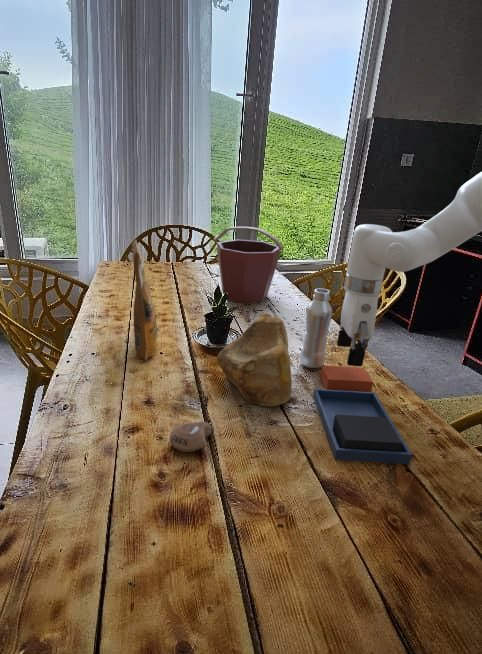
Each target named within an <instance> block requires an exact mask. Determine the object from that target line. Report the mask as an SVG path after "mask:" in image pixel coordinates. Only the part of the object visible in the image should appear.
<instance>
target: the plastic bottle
mask: <svg viewBox="0 0 482 654" xmlns="http://www.w3.org/2000/svg"><path fill="white" fill-rule="evenodd" d="M330 294H331V291H330V290H329V289H327V288H316V289H314V293H313V296H312V298H313V299H312V300H311V301H310V303H308V305H307V306H306V309H305V333H304V338H303V341H302V346H301V349H300V351H299V361H300V362H301V364H302V365H303V366H304V367H307V368H310V369H319V368H322V365H324V364H325V361H326V359H327V358H326V357H327V350H326V346H327V337H328V332H329V327H330V324H331V321H332V317H333V308H332V306H331V304H330V302H329V300H330V299H331V298H330Z"/></svg>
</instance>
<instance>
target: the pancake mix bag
mask: <svg viewBox="0 0 482 654" xmlns="http://www.w3.org/2000/svg"><path fill="white" fill-rule="evenodd" d="M131 247H132V252H133V253H132V254H133V255H132V256H133V258H132V259H133V260H132V261H133V271H134V277H135V289H134V290H135V291H134V301H133V335H134V348H135V352H136V353H135V354H136V355H135V356H136V357H137V358H138V359H141V360H144V361H147V360H148V359H149V358H152V357H154V355H155V353H156V346H157V338H158V323H157V317H156V311H155V307H154V302H153V297H152V292H151V288H150V284H149V280H148V277H147V276H148V275H147V272H146V269H145V268H146V267H145V264H144V260H143V258H142V254H141V251H140V248H139V247H138V244H137V239H135V240H134V241H133V243H131Z"/></svg>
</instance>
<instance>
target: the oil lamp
mask: <svg viewBox="0 0 482 654" xmlns="http://www.w3.org/2000/svg"><path fill="white" fill-rule="evenodd" d="M214 432H215V429H214V427H213V426H212V425H211V424H210V423H209V422H207V421H204V420H202V421H196V422H186V423H180V424H178V425H175V426H173V427H172V430H171V432H170V434H169V443H170V445H171V446H172V447H173V448H174V449H175V450H178V451H180V452H184V453H192V452H197V451H199V450H201V449H204V448H206V447H207V441H206V437H207V438H208V437H210V436H211V435H212V434H213V433H214Z"/></svg>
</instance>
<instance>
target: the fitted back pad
mask: <svg viewBox="0 0 482 654" xmlns="http://www.w3.org/2000/svg"><path fill="white" fill-rule="evenodd" d="M333 432H334V434H335V437H336V440H337V442H338V445H339V448H345V449H360V450H376V451H391V452H400V451H401V447H402V442H401V440H400V438H399V437H398V435H397V433H396V431H395V430H394V428H393V426H392V425H391V423H390V421H389V420H388V418H385V417H369V416H353V415H337V414H335V419H334V424H333Z"/></svg>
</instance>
